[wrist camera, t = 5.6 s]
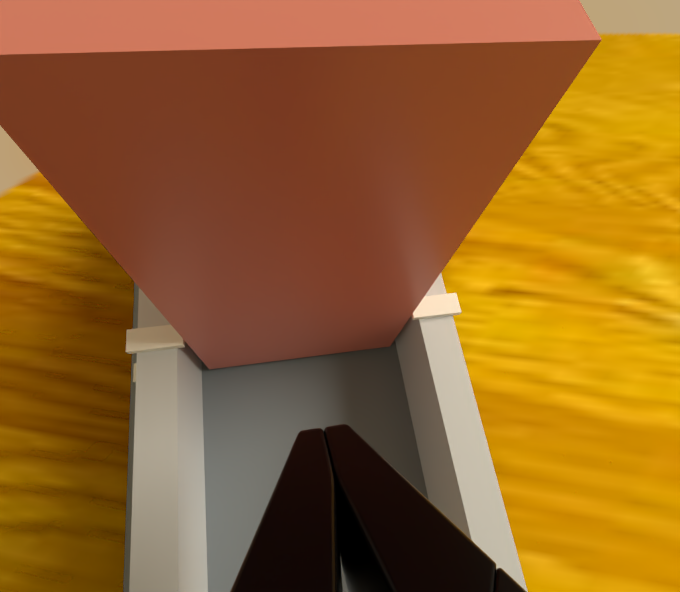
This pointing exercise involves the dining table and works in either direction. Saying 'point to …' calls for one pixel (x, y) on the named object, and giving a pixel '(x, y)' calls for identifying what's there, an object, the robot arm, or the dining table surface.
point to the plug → (283, 148)
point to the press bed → (292, 441)
